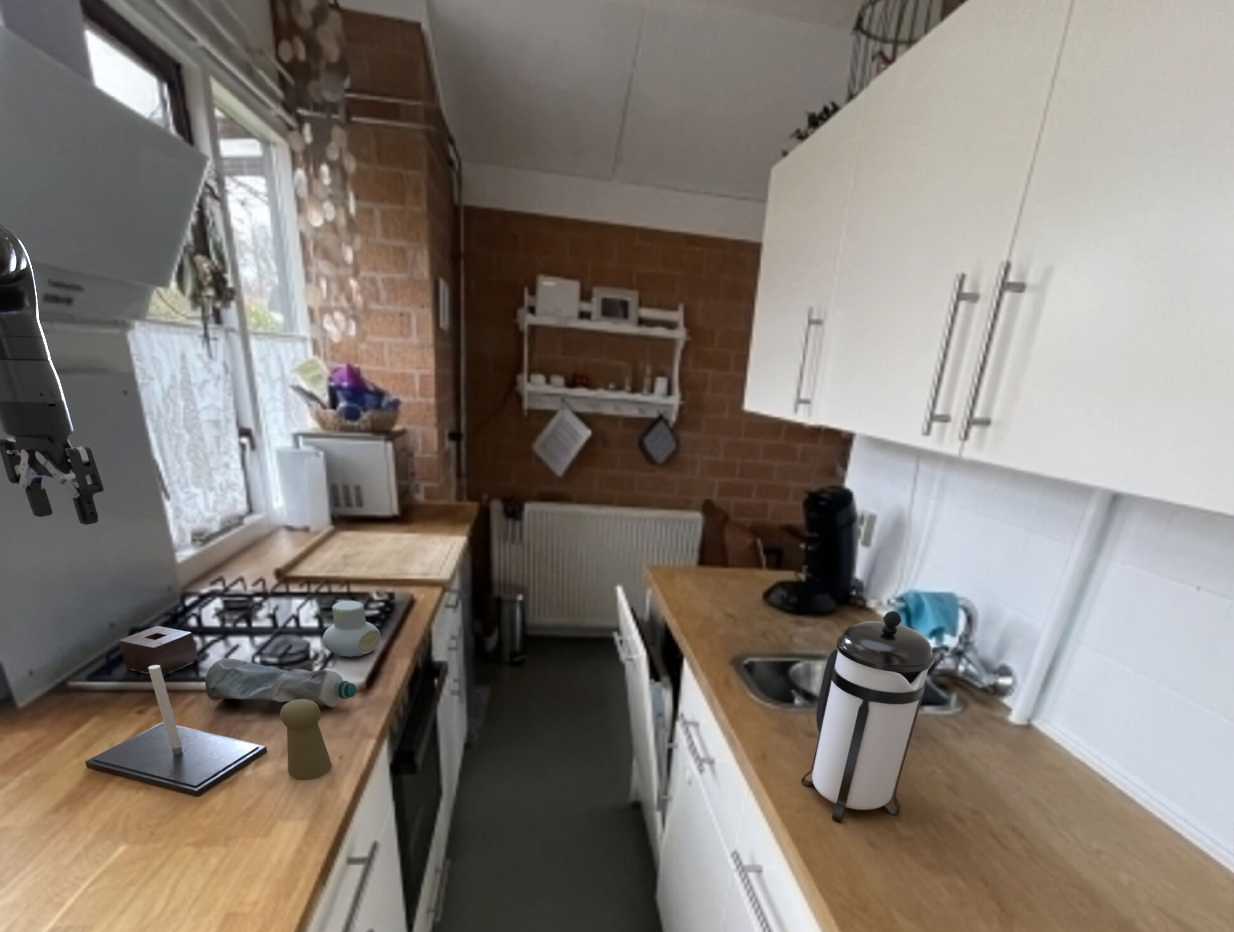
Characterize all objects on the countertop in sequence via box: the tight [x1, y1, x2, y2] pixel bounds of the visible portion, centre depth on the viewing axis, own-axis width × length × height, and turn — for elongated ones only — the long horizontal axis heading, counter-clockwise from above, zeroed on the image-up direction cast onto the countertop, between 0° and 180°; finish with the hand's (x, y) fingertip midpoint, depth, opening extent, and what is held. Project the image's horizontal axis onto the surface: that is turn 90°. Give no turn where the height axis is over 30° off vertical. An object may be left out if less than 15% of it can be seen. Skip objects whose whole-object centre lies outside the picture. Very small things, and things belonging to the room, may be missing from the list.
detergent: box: [204, 657, 357, 708], centre depth 121 cm, size 13×7×25 cm
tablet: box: [84, 721, 268, 797], centre depth 105 cm, size 20×13×1 cm, turn 73°
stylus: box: [148, 665, 182, 754], centre depth 101 cm, size 1×1×14 cm
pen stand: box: [117, 625, 199, 674], centre depth 131 cm, size 8×8×6 cm
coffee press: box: [800, 610, 935, 823], centre depth 101 cm, size 17×16×30 cm
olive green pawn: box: [279, 699, 333, 781], centre depth 102 cm, size 6×6×11 cm
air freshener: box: [322, 600, 382, 658], centre depth 141 cm, size 11×8×10 cm
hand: (66, 519), depth 100 cm, fingers open, 8 cm apart
